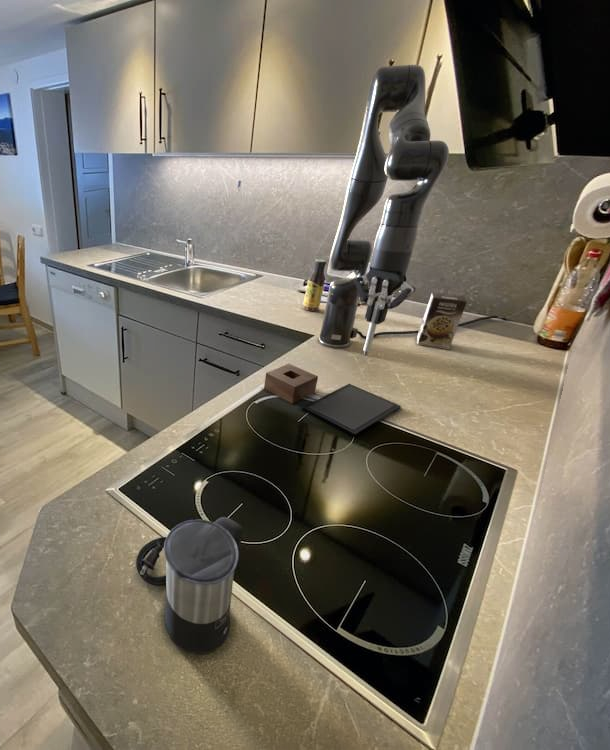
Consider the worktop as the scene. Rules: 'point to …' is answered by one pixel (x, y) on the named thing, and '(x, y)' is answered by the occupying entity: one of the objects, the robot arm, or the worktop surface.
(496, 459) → the worktop surface
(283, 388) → the stand
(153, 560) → the milk frother
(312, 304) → the sauce bottle
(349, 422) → the tablet
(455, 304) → the brown upright rectangular box
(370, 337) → the stylus
